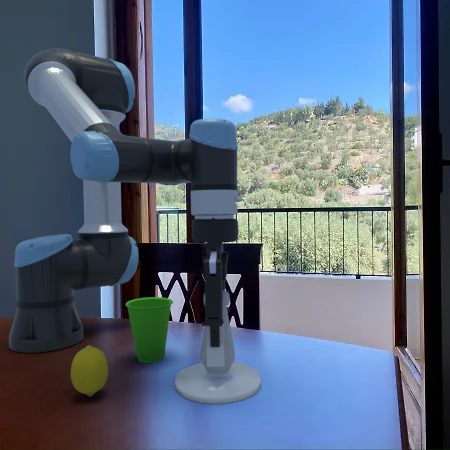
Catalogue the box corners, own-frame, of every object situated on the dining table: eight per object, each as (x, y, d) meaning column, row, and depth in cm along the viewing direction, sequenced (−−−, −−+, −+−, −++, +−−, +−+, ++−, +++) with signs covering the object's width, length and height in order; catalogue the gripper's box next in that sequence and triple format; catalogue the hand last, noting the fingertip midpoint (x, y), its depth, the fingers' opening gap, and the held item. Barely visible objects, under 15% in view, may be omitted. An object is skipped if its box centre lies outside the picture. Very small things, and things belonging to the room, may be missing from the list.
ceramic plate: (159, 381, 70) (159, 374, 70) (225, 361, 78) (225, 355, 78) (207, 413, 59) (207, 404, 59) (278, 386, 67) (278, 379, 67)
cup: (165, 368, 76) (163, 308, 75) (118, 365, 78) (117, 306, 77) (180, 351, 85) (178, 297, 84) (138, 349, 86) (136, 296, 86)
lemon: (88, 407, 61) (86, 354, 61) (63, 399, 64) (62, 347, 64) (116, 393, 66) (115, 343, 65) (92, 385, 69) (91, 337, 68)
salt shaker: (192, 369, 68) (191, 291, 68) (217, 360, 73) (215, 286, 72) (218, 379, 64) (217, 296, 64) (242, 368, 69) (241, 290, 68)
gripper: (236, 218, 58) (239, 382, 59) (238, 215, 77) (240, 340, 78) (183, 219, 58) (186, 382, 59) (198, 216, 77) (200, 340, 78)
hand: (217, 357), depth 68 cm, fingers closed on salt shaker, 6 cm apart
